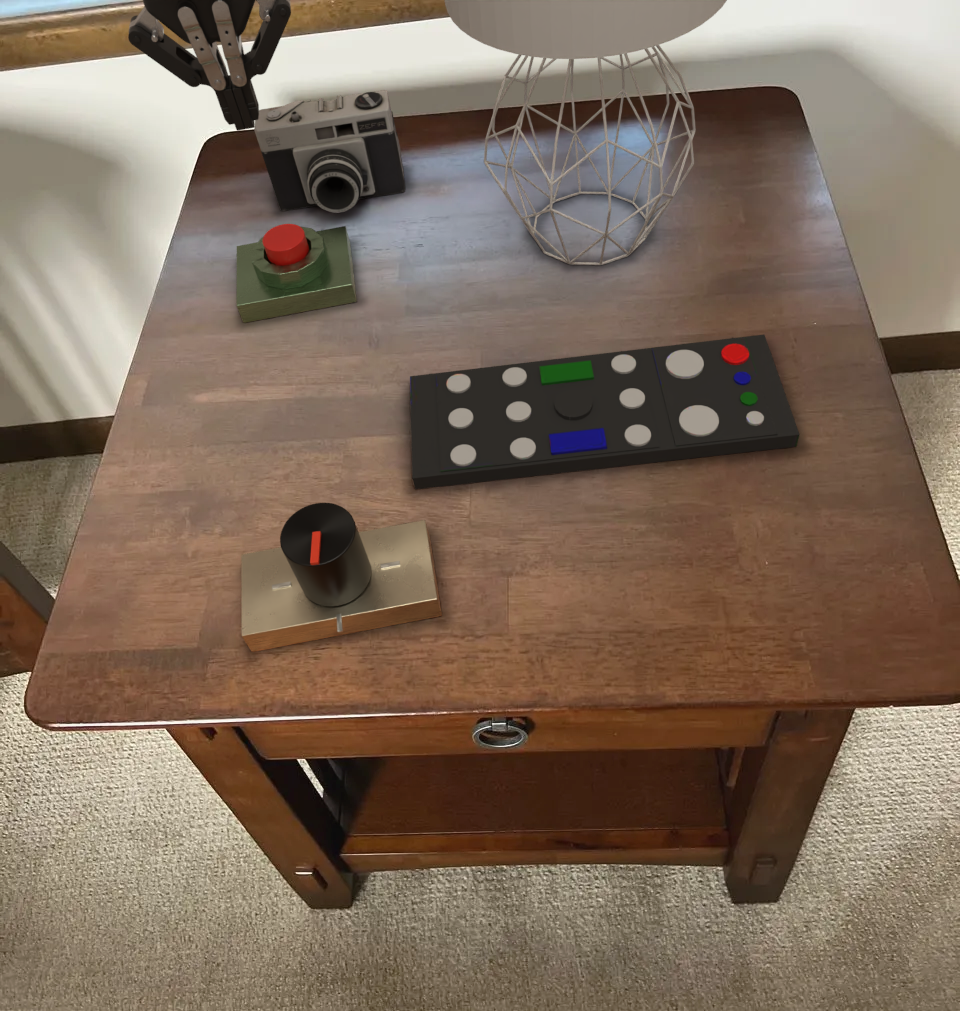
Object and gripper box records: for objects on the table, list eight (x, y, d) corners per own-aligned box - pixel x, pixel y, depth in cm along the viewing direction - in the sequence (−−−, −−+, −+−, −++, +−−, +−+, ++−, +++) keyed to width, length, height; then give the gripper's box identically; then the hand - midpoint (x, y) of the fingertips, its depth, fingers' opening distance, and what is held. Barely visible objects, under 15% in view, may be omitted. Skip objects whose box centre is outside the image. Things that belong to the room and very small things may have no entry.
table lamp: (457, 302, 86) (376, -218, 54) (493, 159, 99) (444, -330, 66) (702, 310, 82) (772, -245, 50) (706, 161, 95) (764, -359, 63)
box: (243, 323, 87) (229, 291, 84) (243, 263, 93) (230, 230, 90) (357, 302, 88) (347, 269, 84) (350, 243, 93) (341, 210, 90)
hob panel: (252, 667, 66) (240, 650, 64) (251, 558, 71) (240, 540, 69) (444, 630, 66) (439, 612, 64) (428, 525, 71) (423, 505, 69)
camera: (269, 231, 95) (240, 142, 87) (283, 181, 101) (257, 93, 93) (401, 222, 94) (384, 131, 86) (408, 172, 99) (392, 82, 92)
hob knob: (303, 548, 68) (281, 503, 64) (372, 542, 68) (355, 496, 63) (298, 610, 65) (275, 566, 60) (370, 603, 65) (353, 559, 60)
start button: (268, 269, 86) (262, 254, 85) (267, 243, 88) (261, 227, 87) (310, 261, 86) (305, 246, 85) (308, 235, 88) (303, 220, 87)
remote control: (796, 446, 72) (800, 430, 71) (415, 489, 74) (411, 474, 72) (761, 346, 79) (765, 329, 77) (412, 387, 80) (408, 372, 79)
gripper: (262, -147, 65) (321, 86, 79) (77, -114, 65) (169, 114, 79) (264, -105, 60) (326, 134, 74) (65, -69, 60) (165, 164, 74)
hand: (245, 124), depth 76 cm, fingers closed
